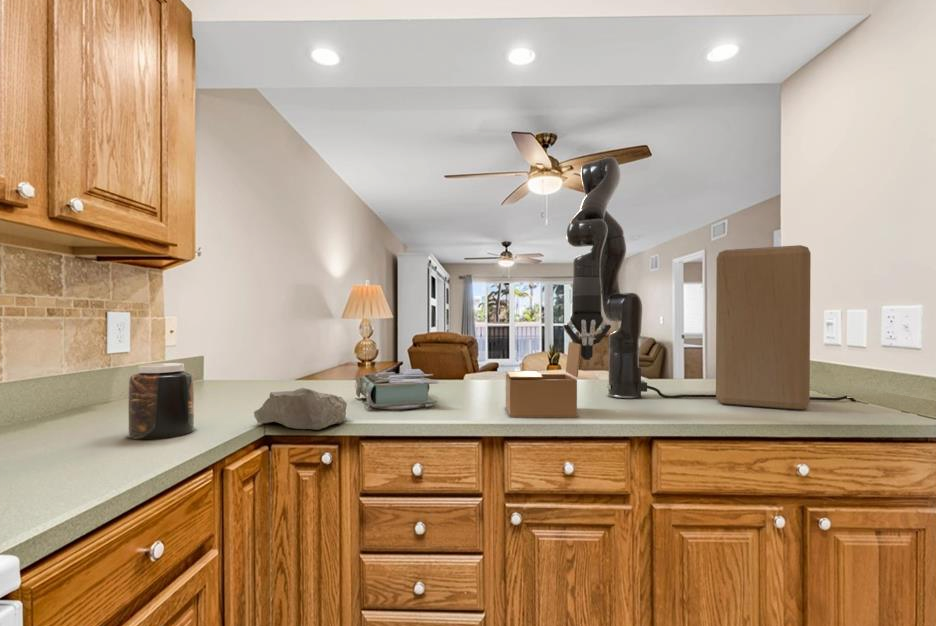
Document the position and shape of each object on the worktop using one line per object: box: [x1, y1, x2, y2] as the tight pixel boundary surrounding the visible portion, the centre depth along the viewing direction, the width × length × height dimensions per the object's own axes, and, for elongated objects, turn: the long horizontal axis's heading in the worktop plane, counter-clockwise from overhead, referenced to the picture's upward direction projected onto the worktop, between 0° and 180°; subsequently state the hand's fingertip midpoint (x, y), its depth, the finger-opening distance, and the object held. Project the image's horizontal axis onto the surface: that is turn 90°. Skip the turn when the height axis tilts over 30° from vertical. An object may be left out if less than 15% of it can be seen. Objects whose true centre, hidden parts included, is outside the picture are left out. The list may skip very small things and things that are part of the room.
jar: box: [128, 362, 195, 441], centre depth 105 cm, size 12×12×15 cm
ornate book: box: [354, 368, 446, 410], centre depth 144 cm, size 23×10×30 cm
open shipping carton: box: [505, 370, 578, 418], centre depth 129 cm, size 17×13×10 cm
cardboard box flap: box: [565, 341, 581, 378], centre depth 129 cm, size 8×13×1 cm
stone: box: [253, 387, 348, 431], centre depth 115 cm, size 18×10×20 cm
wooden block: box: [715, 244, 812, 411], centre depth 144 cm, size 22×22×45 cm
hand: (586, 359), depth 129 cm, fingers closed
